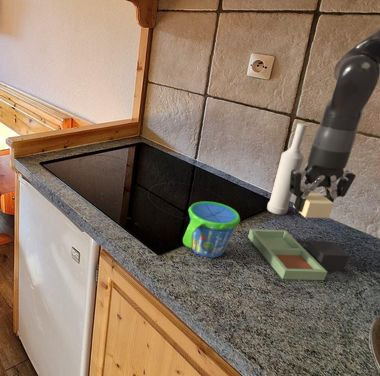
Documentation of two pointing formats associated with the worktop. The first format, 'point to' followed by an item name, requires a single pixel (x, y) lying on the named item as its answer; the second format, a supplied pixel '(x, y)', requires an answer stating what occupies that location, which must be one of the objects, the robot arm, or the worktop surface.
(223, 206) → the snack cup
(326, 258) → the dark gray block
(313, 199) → the foam pad
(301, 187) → the robot arm
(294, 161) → the bottle
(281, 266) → the frame
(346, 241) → the worktop surface
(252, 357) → the worktop surface
